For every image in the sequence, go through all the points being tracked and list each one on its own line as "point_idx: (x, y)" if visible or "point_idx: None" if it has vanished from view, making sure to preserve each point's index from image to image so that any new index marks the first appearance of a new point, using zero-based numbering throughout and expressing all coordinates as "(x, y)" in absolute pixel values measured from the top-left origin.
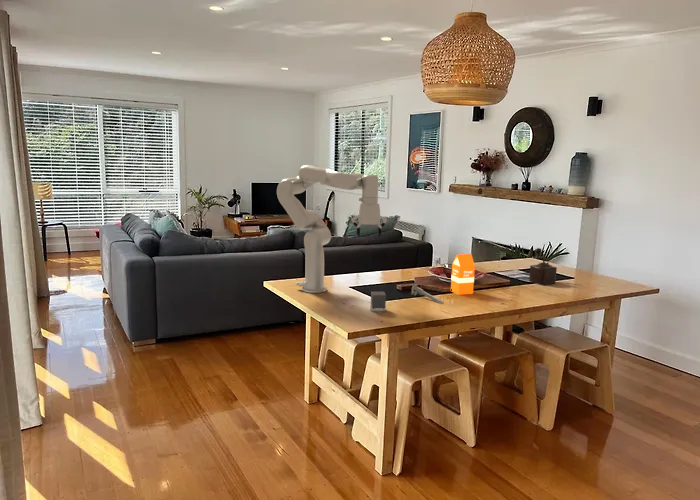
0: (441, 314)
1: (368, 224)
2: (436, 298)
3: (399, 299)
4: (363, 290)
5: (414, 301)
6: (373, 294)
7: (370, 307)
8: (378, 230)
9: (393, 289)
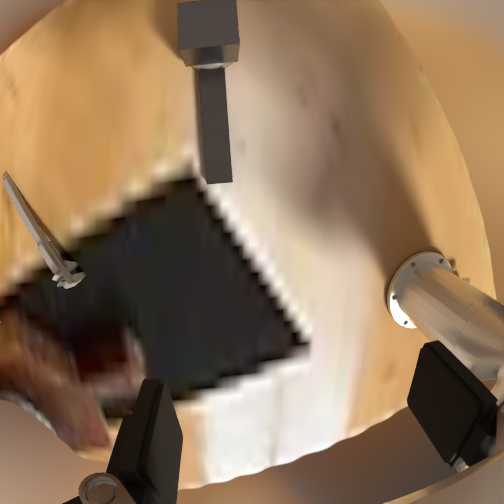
0: (24, 61)
1: (401, 501)
2: (11, 196)
3: (123, 202)
4: (260, 311)
5: (75, 184)
6: (230, 5)
7: (239, 38)
8: (149, 448)
9: (150, 335)
